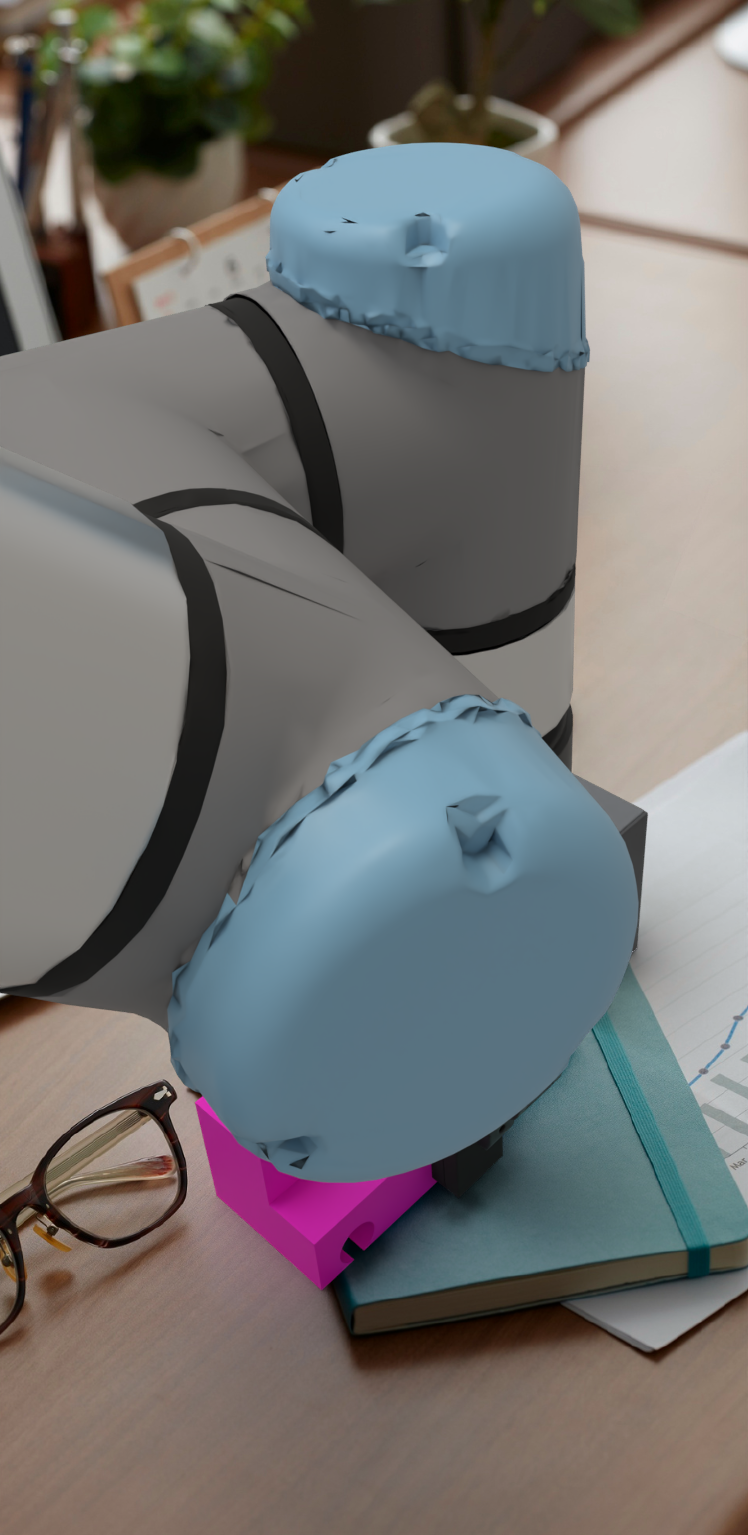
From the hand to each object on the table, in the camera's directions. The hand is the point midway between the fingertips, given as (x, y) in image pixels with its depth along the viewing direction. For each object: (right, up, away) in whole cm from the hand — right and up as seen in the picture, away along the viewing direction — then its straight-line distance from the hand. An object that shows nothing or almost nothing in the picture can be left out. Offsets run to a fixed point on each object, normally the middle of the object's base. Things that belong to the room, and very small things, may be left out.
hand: (467, 1166), depth 58 cm
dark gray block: (+5, +8, +13) cm, 16 cm away
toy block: (-3, 0, +3) cm, 4 cm away
